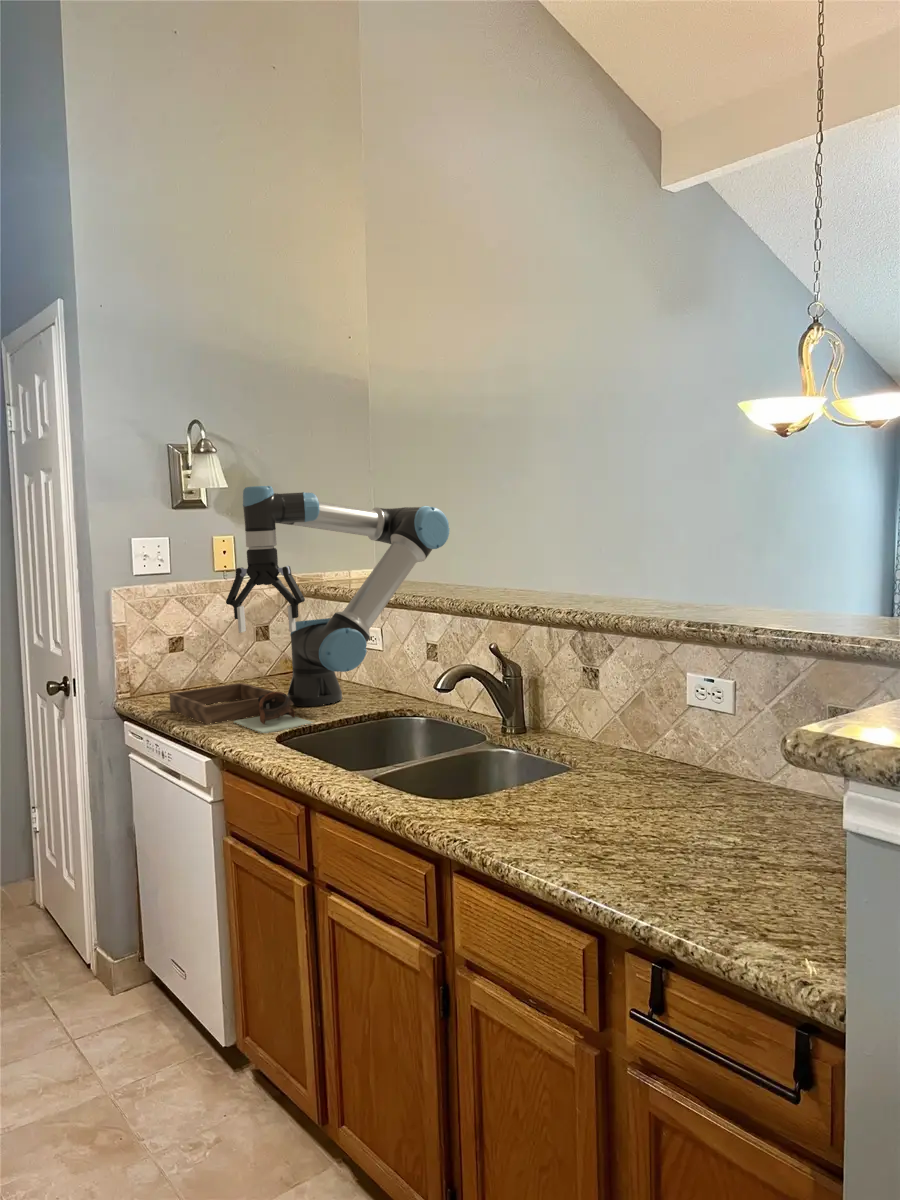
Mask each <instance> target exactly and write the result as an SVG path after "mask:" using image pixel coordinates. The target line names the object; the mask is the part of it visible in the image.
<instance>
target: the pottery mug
mask: <svg viewBox="0 0 900 1200" xmlns="http://www.w3.org/2000/svg"><path fill="white" fill-rule="evenodd" d="M287 695H288V694H286V693H284V692H283V691H273V692H272V693H269V694H267V695H261V696H260V697H259V698H258V702H259V712H260V722H262V723H263V724H265V721H268V720H272V719H277V718H279V717H280V716H283V715H290V716H292V717H293V718H295V716H296V711H295V709H293V707H291V706H295V705H294V703H293V702H292V701H291V699H290V698H289V697H288V696H287ZM272 699H275V701H272Z"/></svg>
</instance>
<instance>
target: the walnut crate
mask: <svg viewBox="0 0 900 1200" xmlns="http://www.w3.org/2000/svg"><path fill="white" fill-rule="evenodd" d="M272 692H274V691H272V690H269V689H265V688H262V687H259V686H254V685H252V684H249V683H246V682H238V683H237V682H236V683H231V684H225V685H217V686H211V687H210V686H209V687H205V688H199V689H197V688H196V689H192V690H184V691H179V692H178V691H177V692H172V693H170V692H169V707H170V708H169V709H171V710H170V711H172V710H173V711H172V712H175V711H176V712H175V713H177V712H178V714H179V713H181V714H180V715H182V714H183V715H182V716H184V715H185V717H187V716H188V717H187V718H189V717H191V718H190V719H192V718H193V719H192V720H194V719H196V720H195V721H197V720H198V721H197V722H199V721H201V722H200V723H202V722H203V723H202V724H204V723H206V724H205V725H207V724H209V725H211V724H210V723H215V722H220V723H223V722H222V721H226V722H228V721H227V720H232V721H235V720H234V719H237V720H241V719H240V718H243V719H247V718H246V717H248V718H253V717H252V716H254V717H258V716H257V715H260V712H259V702H258V698H259V697H260V696H261V695H267V694H269V693H272ZM236 699H240V700H236ZM242 699H244V700H242ZM230 700H234V701H230ZM224 701H228V702H224ZM272 701H275V699H272ZM218 702H221V703H218ZM211 703H215V704H211ZM205 704H209V705H205ZM215 724H216V723H215Z"/></svg>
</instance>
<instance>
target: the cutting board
mask: <svg viewBox="0 0 900 1200" xmlns="http://www.w3.org/2000/svg"><path fill="white" fill-rule="evenodd" d="M235 723H237V724H236V725H238V724H239V725H238V726H240V725H242V726H241V727H243V726H245V727H244V728H246V727H247V728H246V729H248V728H250V729H249V730H251V729H252V730H251V731H253V730H255V731H254V732H256V731H258V732H257V733H259V732H260V733H259V734H261V733H266V734H270V733H275V732H280V731H285V730H284V729H287V730H290V729H289V728H292V729H294V728H293V727H297V728H299V727H298V726H301V725H305V724H311V723H314V721H311V720H307V719H305V718H301V717H298V716H296V715H295V718H293V717H292V716H290V715H283V716H280V717H279V718H277V719H272V720H268V721H265V724H263V723H262V722H260V716H254V717H248V718H243V719H237V720H233V724H235ZM314 724H315V723H314ZM269 732H270V733H269Z"/></svg>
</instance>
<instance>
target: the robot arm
mask: <svg viewBox="0 0 900 1200" xmlns="http://www.w3.org/2000/svg"><path fill="white" fill-rule="evenodd" d="M242 508H243V517H244V530H245V531H244V532H245V533H244V534H245V547H246V548H248V549H247V550H246V561H247V568H244V567H237V568H236V569H235V577H234V580H233V583H232V584H231V587H230V591H229V593H228V596H227V598H226V601H225V604H226V605H230V606H232V608H233V617H234V619H235V620H237V626H238V633H239V634H241V633H244V632H246V631H247V628H246V626H247V625H246V616H245V615H246V613H245V606H244V605H243V602H244V601H245V600H246V598H247V597H248V596H249V594H250V593H251V591H252V590H253V589H254V588H255V586H262V585H264V586H269V585H272V586H273V587H274V588H276V590H277V591H278V592H279V593H280V594H281V596H283V598H284V599H285V600H286V601H287V603H288V604H290V605H287V617H288V618H287V619H288V632H289V633H290V635H289V636H290V643H291V645H290V646H291V663H292V665H291V666H292V677H291V681H290V683H289V688H288V692H287V694H286V695H287V696H288V697H289V698H290V699H291V701H292V702H293V703H294V705H293V706H297V707H316V706H315V705H320V706H324V705H323V704H328V705H331V704H330V703H333V704H335V703H334V702H337V701H339V700H341V699H342V700H343V691H342V689H341V685H340V683H339V680H338V678H337V675H336V673H337V672H338V673H339V672H341V673H344V672H345V673H347V672H349V671H353V670H355V669H356V668H358V667H359V666H360V665H361V663H363V661H364V660H365V657H366V655H367V643H368V642H369V640H370V638H371V635H370V629H371V627H372V626H373V625H374V624H375V622H376V621H377V619H378V618H379V616H380V615H381V613H382V612H383V611H384V610H385V607H387V605H388V603H389V602H390V601H391V599H392V598H393V596H394V594H396V592H397V591H398V589H399V588H400V586H401V585H402V584H403V582H404V581H405V579H406V578H407V576H409V574H410V572H411V571H412V569H413V568H414V566H415V565H416V564H417V563H422V562H425V560H426V559H427V558H428V557H429V555H430V553H431V552H432V551H433V550H437V549H439V548H442V547H443V546H444V545H446V543H447V542H448V539H449V536H450V527H449V523H450V522H449V520H448V518H447V516H446V514H445V513H444V512H443V511H442V510H441V509H439V508H437V507H435V506H429V505H424V506H423V505H422V506H421V507H420V506H413V507H411V506H409V507H408V506H406V507H405V506H404V507H394V508H393V507H392V508H385V507H383V508H382V507H378V506H377V507H376V506H375V507H374V508H372V509H366V508H360V507H353V506H347V505H342V504H335V503H330V502H329V503H328V502H323V501H319V499H318V496H317V495H316V494H315V493H313V492H305V491H303V492H287V493H286V492H285V493H283V492H282V493H275V491H274V488H273V487H272V485H260V486H259V485H256V486H255V485H254V486H253V485H251V486H247V487H245V488H244V489H243V491H242ZM276 524H282V525H289V526H290V525H291V526H295V527H301V528H303V527H304V528H309V529H310V528H311V529H317V530H318V529H319V530H323V531H330V532H338V533H345V534H350V535H351V534H352V535H358V536H363V537H365V536H366V537H368V539H369V540H370V541H374V542H380V543H385V544H388V545H390V546H389V547H388V549H387V550H386V552H385V553H384V554H383V555H382V557H381V558H380V559H379V561H378V562H377V563H376V565H375V567H374V568H373V569H372V571H371V572H370V574H369V575H368V576H367V578H365V580H364V582H363V583H362V585H361V586H360V587H359V589H358V590H357V592H356V593H355V594H354V595H353V597H352V598H351V600H350V601H349V602H348V603H347V605H346V606H345V608H344V610H343V611H338V612H337V611H336V612H334V614H333V615H332V616H331V617H330V618H328V617H327V618H318V619H317V618H316V619H309V620H308V619H307V620H300V621H299V620H296V619H298V617H299V604H301V603H304V602H305V601H306V598H305V596H304V595H303V593H302V591H301V589H300V587H299V586H298V584H297V581H296V580H295V578H294V577H293V574H292V570H291V566H289V565H286V566H285V565H284V566H281V567H279V564H278V563H279V562H278V560H279V559H278V549H277V548H276V546H277V533H276V532H277V531H276V528H277V527H276ZM279 574H281V576H283V578H284V580H285V583H286V584H287V585H288V587H289V589H290V590H289V589H288V588H287V587H286V586H285V585H284V583H283V582H282V580H281V579H280V578H279ZM246 575H247V576H248V577H249V579H248V581H247V582H246V583H245V586H244V587H243V589H242V590H241V591H240V589H241V586H242V583H243V581H244V579H245V578H244V577H245V576H246ZM239 591H240V592H239ZM342 700H341V701H342ZM339 702H340V701H339ZM337 703H338V702H337Z"/></svg>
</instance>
